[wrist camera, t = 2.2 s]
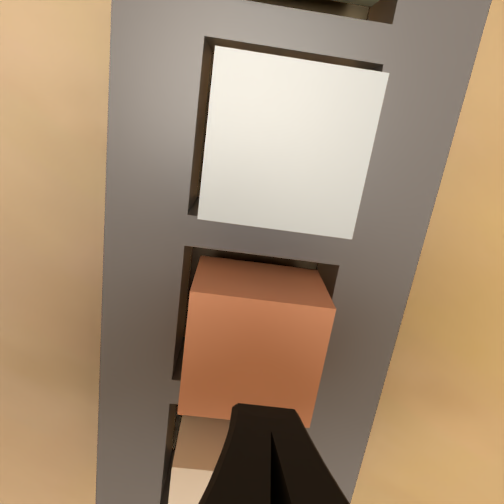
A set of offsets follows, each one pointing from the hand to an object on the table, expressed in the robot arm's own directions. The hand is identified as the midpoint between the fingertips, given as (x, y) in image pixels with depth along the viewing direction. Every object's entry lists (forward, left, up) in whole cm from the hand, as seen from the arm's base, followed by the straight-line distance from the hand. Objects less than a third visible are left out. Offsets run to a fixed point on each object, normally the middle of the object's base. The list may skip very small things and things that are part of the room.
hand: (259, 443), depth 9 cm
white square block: (0, +6, -6) cm, 8 cm away
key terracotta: (0, 0, -6) cm, 6 cm away
